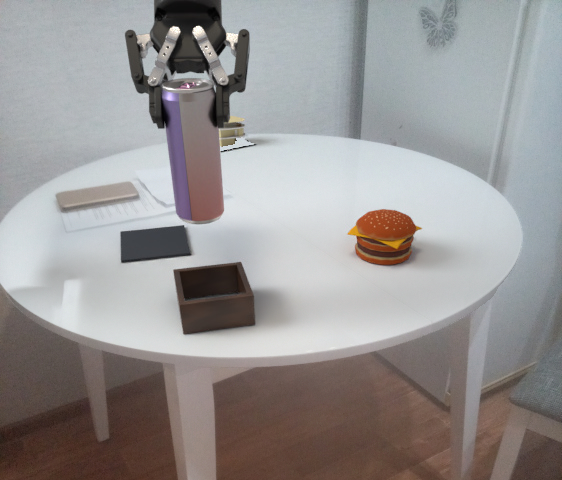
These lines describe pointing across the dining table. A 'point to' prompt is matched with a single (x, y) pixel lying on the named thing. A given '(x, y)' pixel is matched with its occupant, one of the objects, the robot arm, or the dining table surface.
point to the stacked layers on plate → (231, 131)
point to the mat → (154, 243)
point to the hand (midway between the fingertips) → (190, 124)
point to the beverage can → (194, 149)
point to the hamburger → (384, 236)
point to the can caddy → (216, 309)
